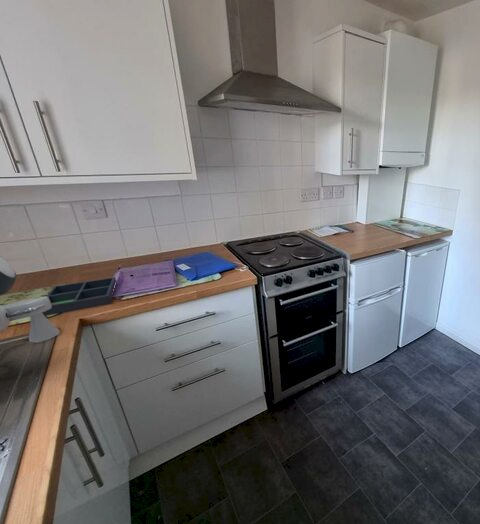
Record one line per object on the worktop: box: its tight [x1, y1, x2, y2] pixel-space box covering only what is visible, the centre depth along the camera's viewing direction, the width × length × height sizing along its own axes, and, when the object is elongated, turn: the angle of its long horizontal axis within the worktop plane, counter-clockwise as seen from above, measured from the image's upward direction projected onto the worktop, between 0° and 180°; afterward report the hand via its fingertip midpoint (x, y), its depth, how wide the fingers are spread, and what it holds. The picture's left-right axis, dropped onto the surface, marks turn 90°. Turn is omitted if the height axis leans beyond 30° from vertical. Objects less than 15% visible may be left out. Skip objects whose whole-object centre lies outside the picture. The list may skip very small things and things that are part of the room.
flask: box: [28, 313, 61, 344], centre depth 91 cm, size 7×7×10 cm
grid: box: [43, 276, 118, 317], centre depth 115 cm, size 19×19×4 cm
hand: (8, 309), depth 81 cm, fingers open, 8 cm apart
